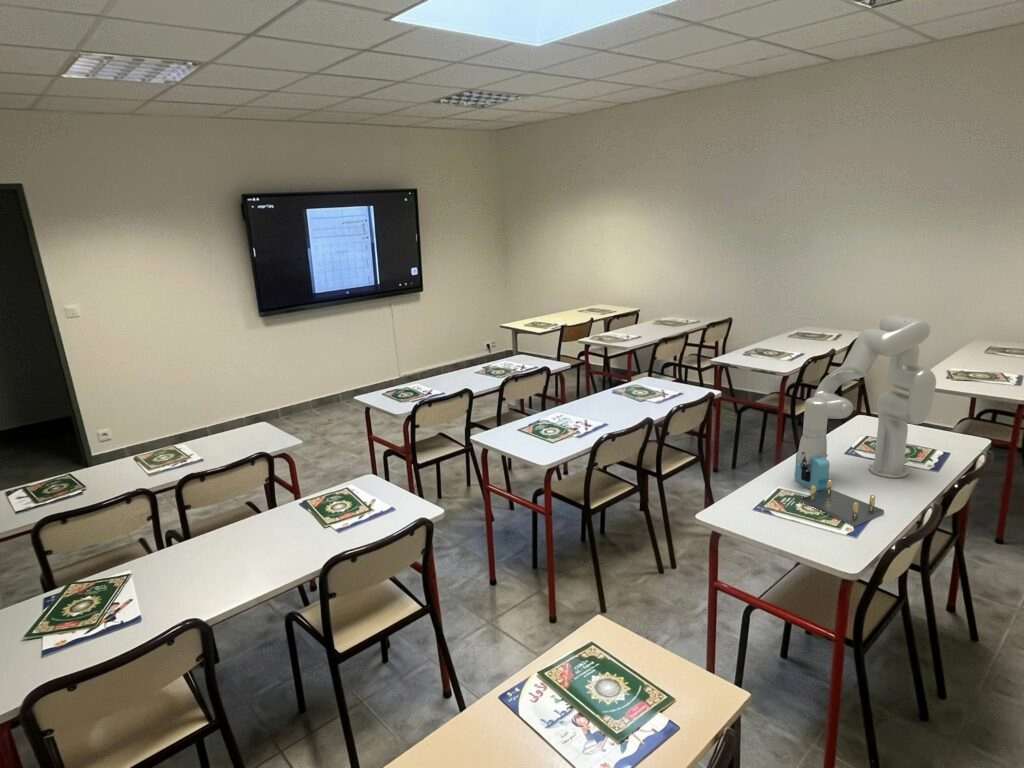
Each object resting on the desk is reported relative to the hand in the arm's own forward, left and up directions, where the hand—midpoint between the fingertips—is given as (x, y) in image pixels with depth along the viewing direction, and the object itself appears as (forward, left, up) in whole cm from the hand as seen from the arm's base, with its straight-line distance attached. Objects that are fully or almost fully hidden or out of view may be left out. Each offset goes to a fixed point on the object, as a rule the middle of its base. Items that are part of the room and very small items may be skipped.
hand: (811, 478), depth 224 cm
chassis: (+7, +17, -3) cm, 19 cm away
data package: (0, 0, -3) cm, 3 cm away
